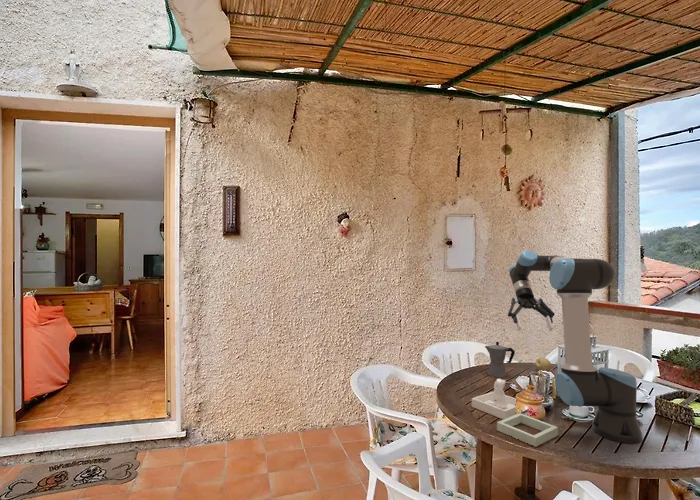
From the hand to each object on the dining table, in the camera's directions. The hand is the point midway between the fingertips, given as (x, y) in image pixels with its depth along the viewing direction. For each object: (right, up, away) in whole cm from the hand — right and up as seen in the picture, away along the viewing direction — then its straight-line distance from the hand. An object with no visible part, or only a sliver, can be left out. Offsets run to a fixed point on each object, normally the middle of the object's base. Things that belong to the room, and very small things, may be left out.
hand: (535, 329), depth 174 cm
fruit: (+25, -33, +45) cm, 61 cm away
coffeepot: (-2, -33, +38) cm, 50 cm away
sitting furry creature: (-20, -32, -7) cm, 38 cm away
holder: (-17, -32, -29) cm, 47 cm away
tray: (-19, -32, -7) cm, 38 cm away
